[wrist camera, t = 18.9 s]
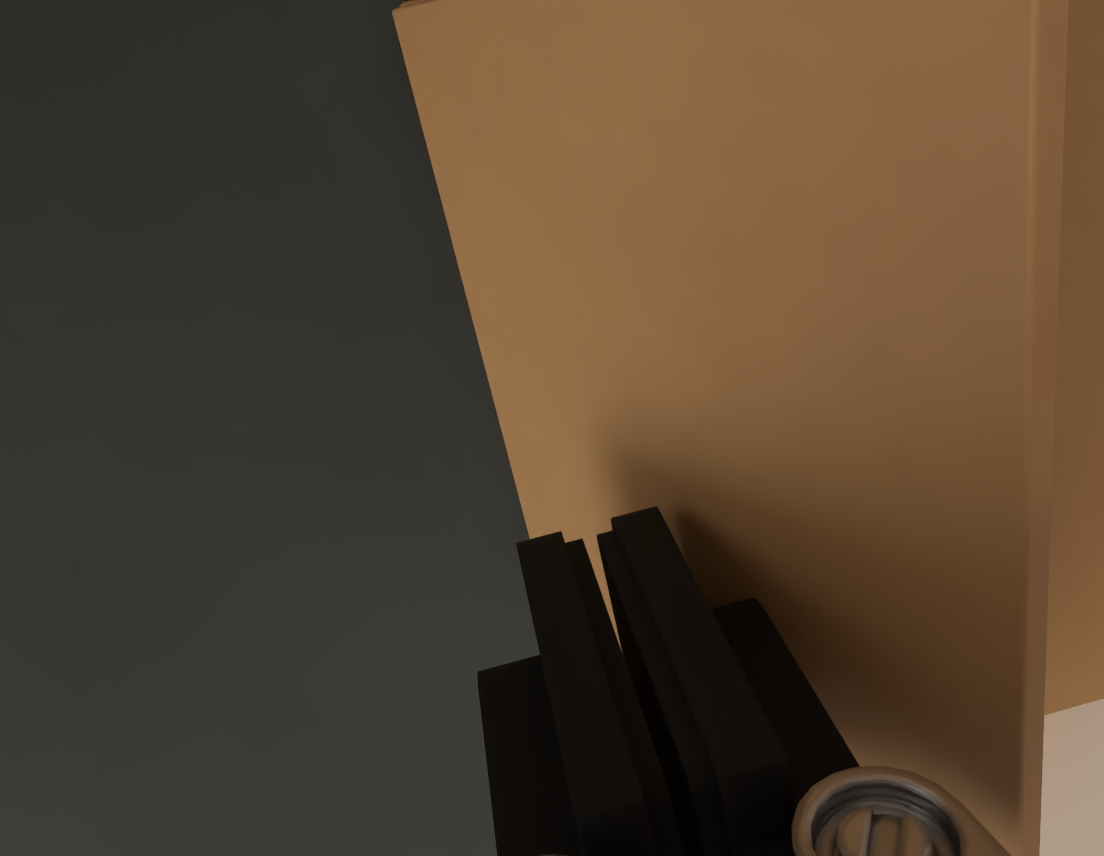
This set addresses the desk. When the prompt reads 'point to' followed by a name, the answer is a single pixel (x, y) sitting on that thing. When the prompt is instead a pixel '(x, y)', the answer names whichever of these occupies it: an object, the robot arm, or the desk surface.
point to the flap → (785, 326)
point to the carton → (1077, 382)
